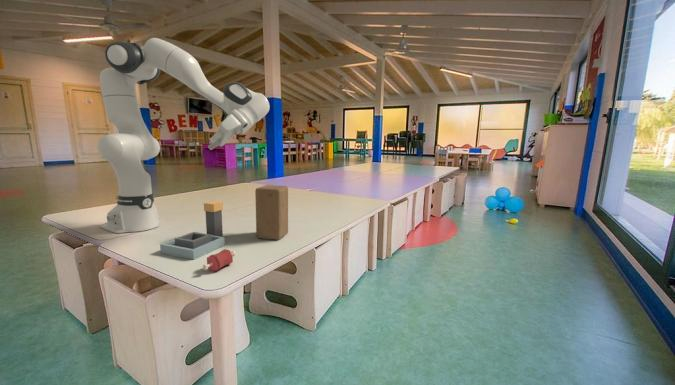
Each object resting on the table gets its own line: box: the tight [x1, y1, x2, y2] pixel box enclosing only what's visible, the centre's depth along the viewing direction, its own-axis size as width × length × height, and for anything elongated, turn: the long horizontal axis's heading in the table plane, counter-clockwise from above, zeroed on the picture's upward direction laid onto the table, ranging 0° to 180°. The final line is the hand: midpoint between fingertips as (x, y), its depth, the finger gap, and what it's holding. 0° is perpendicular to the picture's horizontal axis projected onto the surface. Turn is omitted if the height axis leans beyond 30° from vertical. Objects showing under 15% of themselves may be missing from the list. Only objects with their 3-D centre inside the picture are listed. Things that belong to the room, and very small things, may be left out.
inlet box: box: [159, 231, 226, 261], centre depth 97 cm, size 14×14×4 cm
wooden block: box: [255, 184, 289, 241], centre depth 112 cm, size 10×10×20 cm
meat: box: [202, 248, 236, 272], centre depth 84 cm, size 12×5×5 cm, turn 158°
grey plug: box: [203, 200, 224, 237], centre depth 108 cm, size 5×5×14 cm
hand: (210, 144), depth 106 cm, fingers open, 8 cm apart
